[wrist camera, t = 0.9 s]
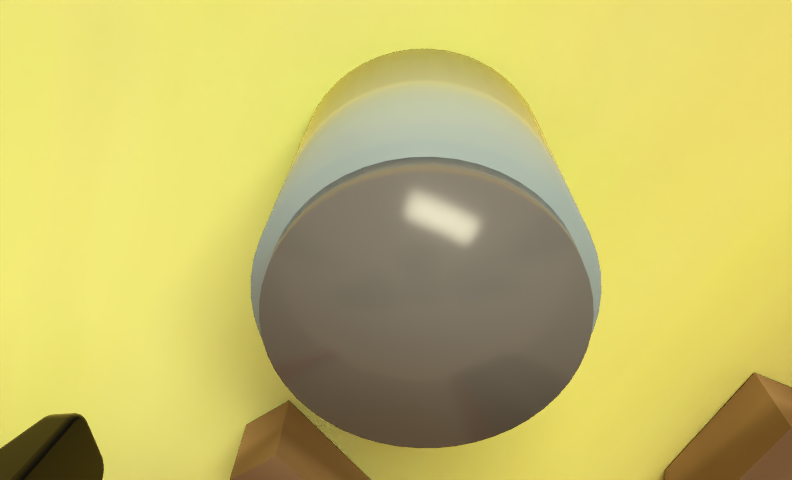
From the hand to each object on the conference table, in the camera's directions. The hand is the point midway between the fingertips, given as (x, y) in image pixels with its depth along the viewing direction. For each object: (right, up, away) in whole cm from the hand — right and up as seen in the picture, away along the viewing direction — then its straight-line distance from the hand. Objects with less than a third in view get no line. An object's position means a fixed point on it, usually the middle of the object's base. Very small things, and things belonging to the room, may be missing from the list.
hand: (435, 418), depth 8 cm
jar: (0, +4, +7) cm, 8 cm away
